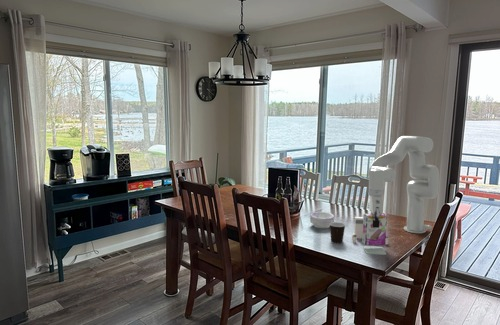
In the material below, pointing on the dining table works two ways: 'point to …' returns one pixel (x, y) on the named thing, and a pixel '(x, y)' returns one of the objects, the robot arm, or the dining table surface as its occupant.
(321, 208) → the dining table surface
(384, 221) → the candy bar box
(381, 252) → the pad
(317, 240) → the dining table surface
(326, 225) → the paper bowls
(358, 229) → the dispenser
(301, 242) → the dining table surface
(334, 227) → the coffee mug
